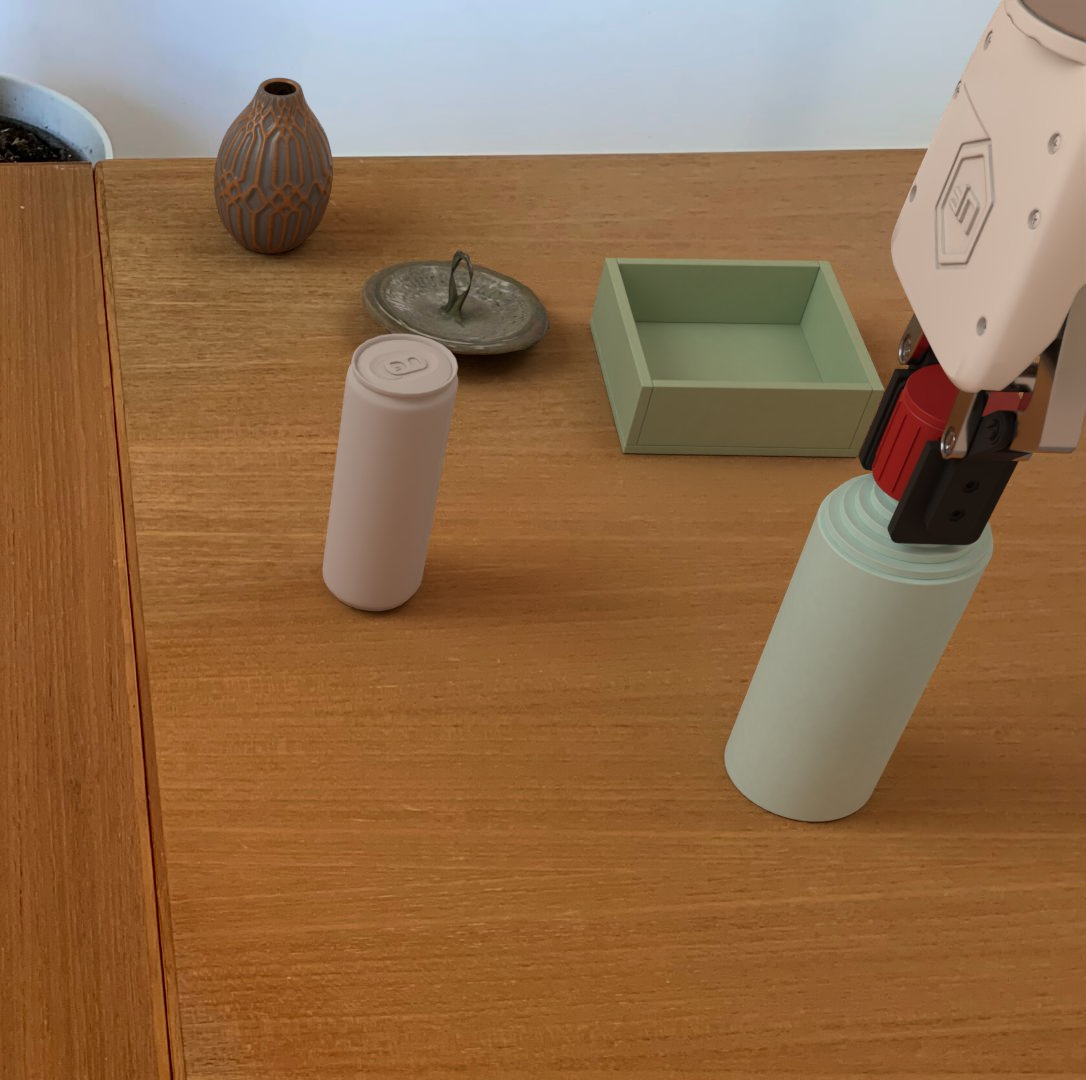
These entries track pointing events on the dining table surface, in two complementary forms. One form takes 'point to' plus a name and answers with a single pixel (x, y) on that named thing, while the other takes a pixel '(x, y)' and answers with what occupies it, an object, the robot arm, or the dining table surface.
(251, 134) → the vase
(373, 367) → the beverage can
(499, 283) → the lid
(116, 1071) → the dining table surface
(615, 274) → the bin
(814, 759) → the bottle
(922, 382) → the cap
